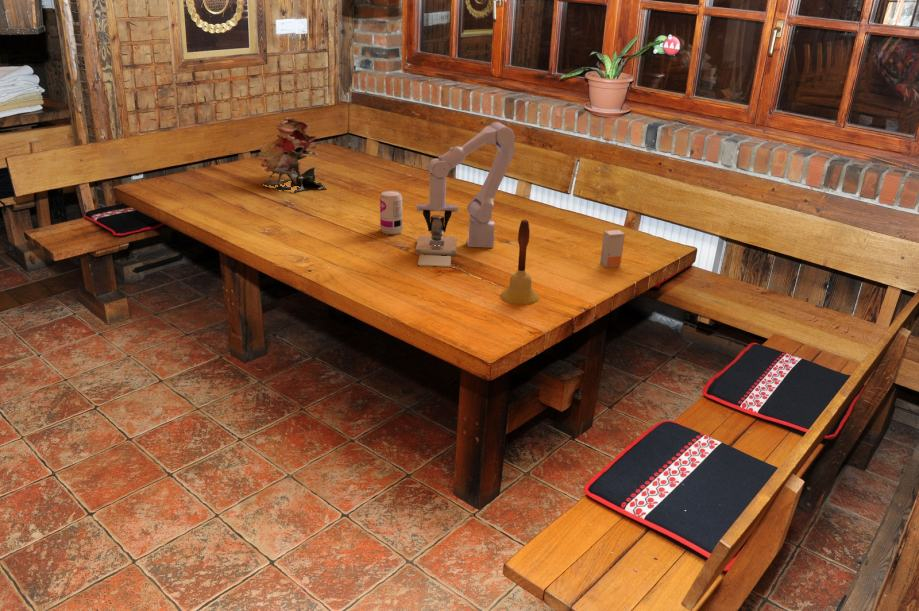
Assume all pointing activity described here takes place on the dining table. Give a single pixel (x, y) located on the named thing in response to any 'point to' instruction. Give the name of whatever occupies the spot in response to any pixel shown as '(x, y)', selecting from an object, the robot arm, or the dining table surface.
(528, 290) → the handbell
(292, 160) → the rose bouquet
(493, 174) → the robot arm
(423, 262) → the pad
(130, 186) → the dining table surface
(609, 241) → the skincare box
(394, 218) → the supplement can
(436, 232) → the grey metal cylinder
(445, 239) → the housing plate
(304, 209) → the dining table surface
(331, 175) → the dining table surface
